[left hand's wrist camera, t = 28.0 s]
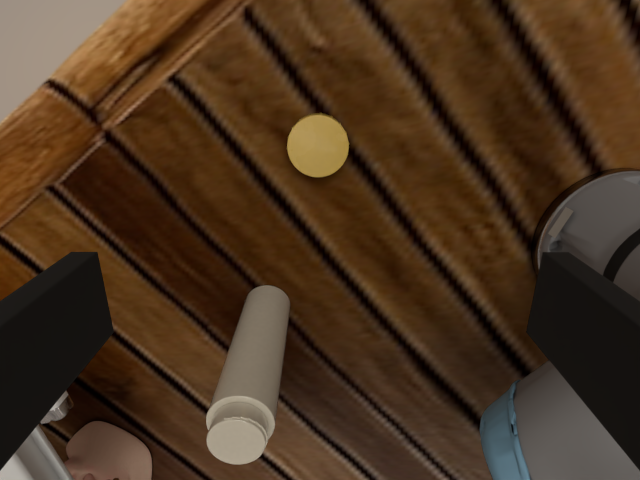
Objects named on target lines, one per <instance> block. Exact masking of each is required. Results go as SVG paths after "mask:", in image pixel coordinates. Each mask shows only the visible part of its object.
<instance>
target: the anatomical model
mask: <svg viewBox="0 0 640 480" xmlns="http://www.w3.org/2000/svg"><path fill="white" fill-rule="evenodd" d="M66 452H67V455H68V457H69V459H68V460H67V461H65V462H64V464H65V466H66V468H67V469H68V471H69V472H70V474H71V475H72V477H73V478H74V480H109V479H110V480H113V479H114V478H119V480H151V477H152V458H151V454H150V452H149V450H148V448H147V447H146V446H145V444H144V443H143V442H141V441H140V440H139V439H138V438H136V437H135V436H133V435H132V434H130V433H128V432H126V431H125V430H123V429H121V428H119V427H116V426H114V425H112V424H109V423H106V422H102V421H93V422H90V423H88V424H87V425H85V426H84V427H83V428H81V429H80V430H79V431H78V432H77V433H76V434H75V435H74V436H73V437H72V438H71V440H70V441H69V442H68V444H67V446H66Z"/></svg>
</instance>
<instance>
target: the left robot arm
mask: <svg viewBox="0 0 640 480" xmlns="http://www.w3.org/2000/svg"><path fill="white" fill-rule="evenodd" d="M532 260H533V266H534V270H535V273H536V275H537V282H536V287H535V292H534V297H533V302H532V307H531V311H530V316H529V321H528V326H527V331H526V332H527V334H528V335H529V336H530V337H531V339H532V340H533V341H534V342H535V343H536V345H537V346H538V347H539V348H540V350H541V351H542V352H543V353H544V354H545V356H546V357H547V358H548V359H549V360H548V361H547V362H545V363H544V364H543V365H541V366H540V367H539V368H537V369H536V370H534V371H533V372H532V373H530V374H529V375H528V376H526V377H525V378H524V379H522V380H517V381H515V382H514V383H512V385H511V386H510V389H509V390H508V391H506V392H505V393H504V394H503V395H502V396H500V397H499V398H498V399H497V400H496V401H494V402H493V403H492V404H491V405H490V406H488V407H487V408H486V410H485V411H484V413H483V415H482V417H481V422H480V435H481V445H482V449H483V453H484V456H485V459H486V462H487V465H488V468H489V470H490V473H491V476H492V478H493V480H640V169H633V168H619V169H611V170H606V171H603V172H599V173H596V174H593V175H591V176H589V177H587V178H584V179H582V180H581V181H579V182H577V183H576V184H574V185H573V186H571V187H570V188H568V189H567V190H566V191H565V192H563V193H562V194H561V195H560V196H559V197H558V198H557V199H556V200H555V201H554V202H553V203H552V204H551V206H550V207H549V208H548V210H547V211H546V212H545V214H544V216H543V217H542V219H541V221H540V223H539V225H538V227H537V230H536V233H535V236H534V240H533V246H532ZM113 332H114V331H113V326H112V321H111V316H110V311H109V307H108V302H107V297H106V292H105V287H104V282H103V277H102V273H101V268H100V263H99V258H98V253H97V252H71V253H69V254H68V255H66V256H65V257H63V258H62V259H61V260H59V261H58V262H56V263H55V264H53V265H52V266H50V267H49V268H48V269H46V270H45V271H43V272H42V273H40V274H39V275H37V276H36V277H35V278H33V279H32V280H30V281H29V282H27V283H26V284H24V285H23V286H22V287H20V288H19V289H17V290H16V291H14V292H13V293H11V294H10V295H9V296H7V297H6V298H4V299H3V300H1V301H0V471H1V469H2V468H3V467H4V466H5V464H6V463H7V462H8V461H9V460H10V458H11V457H12V456H13V455H14V453H15V452H16V451H17V450H18V449H19V447H20V446H21V445H22V444H23V442H24V441H25V440H26V439H27V438H28V436H29V435H30V434H31V433H32V431H33V430H34V429H35V428H36V427H37V425H38V424H39V423H40V422H41V420H42V419H43V418H44V417H45V416H46V414H47V413H48V412H49V411H50V409H51V408H52V407H53V406H54V405H55V403H56V402H57V401H58V400H59V398H60V397H61V396H62V395H63V394H64V392H65V391H66V390H67V389H68V387H69V386H70V385H71V384H72V383H73V381H74V380H75V379H76V378H77V376H78V375H79V374H80V373H81V372H82V370H83V369H84V368H85V367H86V365H87V364H88V363H89V362H90V361H91V359H92V358H93V357H94V356H95V354H96V353H97V352H98V351H99V350H100V348H101V347H102V346H103V345H104V343H105V342H106V341H107V340H108V339H109V337H110V336H111V335H112V334H113Z"/></svg>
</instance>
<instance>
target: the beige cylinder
mask: <svg viewBox="0 0 640 480" xmlns="http://www.w3.org/2000/svg"><path fill="white" fill-rule="evenodd" d="M289 314H290V301H289V298H288V296H287V295H286V294H285V293H284V292H283V291H282V290H281V289H279V288H277V287H274V286H269V285H265V286H259V287H257V288H255V289H253V290H252V291H251V292H250V293H249V294H248V296H247V298H246V300H245V303H244V306H243V309H242V312H241V315H240V318H239V321H238V324H237V327H236V330H235V333H234V336H233V339H232V342H231V345H230V348H229V351H228V354H227V357H226V359H225V362H224V365H223V368H222V371H221V374H220V377H219V380H218V383H217V386H216V389H215V392H214V395H213V398H212V401H211V404H210V407H209V410H208V413H207V417H206V424H207V428H208V430H209V431H208V434H207V446H208V448H209V450H210V452H211V453H212V454H213V455H214V456H215V457H216V458H217V459H219V460H221V461H223V462H226V463H229V464H236V465H240V464H247V463H250V462H252V461H254V460H256V459H257V458H259V457H260V456H261V454H262V453H263V451H264V449H265V448H266V445H267V442H268V439H269V438H270V437H271V435H272V434H273V431H274V428H275V421H276V413H277V405H278V398H279V390H280V382H281V375H282V367H283V360H284V352H285V344H286V337H287V329H288V321H289Z"/></svg>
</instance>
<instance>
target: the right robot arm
mask: <svg viewBox="0 0 640 480" xmlns="http://www.w3.org/2000/svg"><path fill="white" fill-rule="evenodd" d="M73 406H74V403H73V401H72V399H71V398H70V396H69V394H68V393H67V391H65V392H64V394H63V395H62V396H61V397H60V398H59V400H58V401H57V402H56V403H55V405H54V406H53V407H52V408H51V409H50V411H49V412H48V413H47V414H46V416H45V417H44V418H43V419H42V420H41V422H40V423H41V424H44V423H49V422H50V421H51V420H53V421H57V420H60V419H62V418H63V417H65V416H66V415H67V413H68V411H69V409H70V408H72V407H73ZM0 480H74V478H73V477H72V475H71V474H70V472H69V471H68V469H67V468H66V466H65V464H64V463H63V461H62V460H61V458H60V457H59V455H58V454H57V452H56V451H55V449H54V448H53V446H52V444H51V443H50V441H49V440H48V438H47V437H46V435H45V434H44V432H43V431H42V429H41V428H40V426H39V425H37V427H36V428H35V429H34V430H33V431H32V433H31V434H30V435H29V436H28V438H27V439H26V440H25V441H24V442H23V444H22V445H21V446H20V447H19V449H18V450H17V451H16V452H15V453H14V455H13V456H12V457H11V458H10V460H9V461H8V462H7V463H6V464H5V466H4V467H3V468H2V469H1V471H0ZM109 480H110V479H109ZM113 480H119V478H114V479H113Z"/></svg>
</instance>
